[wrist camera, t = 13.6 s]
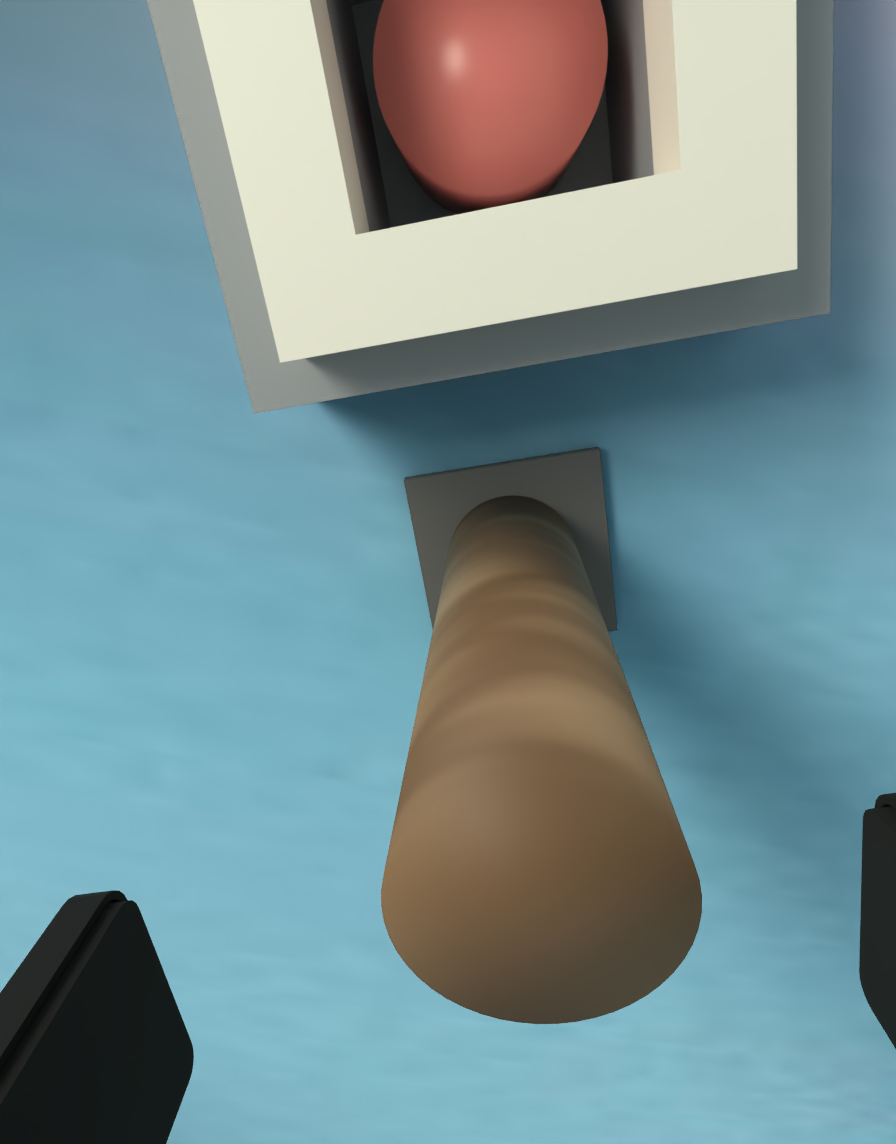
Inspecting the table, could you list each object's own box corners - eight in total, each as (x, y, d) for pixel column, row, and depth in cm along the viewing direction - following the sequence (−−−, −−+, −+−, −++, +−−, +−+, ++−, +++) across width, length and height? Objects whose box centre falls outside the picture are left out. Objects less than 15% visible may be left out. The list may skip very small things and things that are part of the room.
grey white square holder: (747, 316, 19) (880, 311, 13) (306, 394, 21) (222, 424, 14) (732, -239, 16) (913, -656, 9) (192, -99, 17) (4, -369, 10)
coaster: (615, 625, 23) (617, 630, 22) (438, 648, 23) (437, 653, 23) (597, 447, 21) (599, 449, 20) (405, 477, 22) (403, 480, 21)
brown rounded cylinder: (567, 486, 21) (693, 758, 8) (581, 605, 22) (709, 1014, 9) (439, 505, 21) (351, 794, 8) (460, 622, 23) (413, 1032, 9)
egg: (593, 199, 18) (618, 170, 15) (413, 234, 18) (397, 215, 15) (573, -25, 16) (595, -114, 13) (377, 21, 17) (350, -53, 14)
